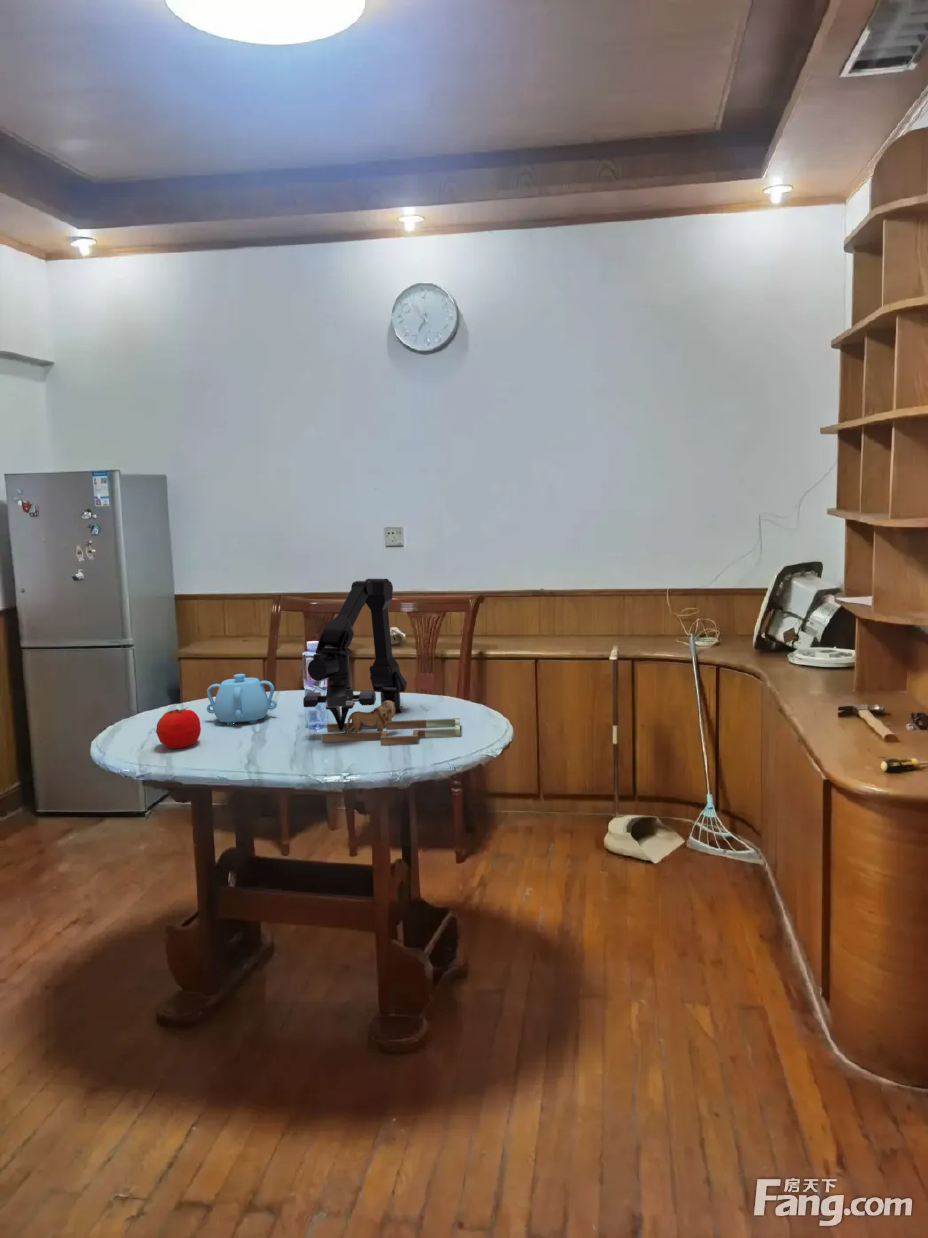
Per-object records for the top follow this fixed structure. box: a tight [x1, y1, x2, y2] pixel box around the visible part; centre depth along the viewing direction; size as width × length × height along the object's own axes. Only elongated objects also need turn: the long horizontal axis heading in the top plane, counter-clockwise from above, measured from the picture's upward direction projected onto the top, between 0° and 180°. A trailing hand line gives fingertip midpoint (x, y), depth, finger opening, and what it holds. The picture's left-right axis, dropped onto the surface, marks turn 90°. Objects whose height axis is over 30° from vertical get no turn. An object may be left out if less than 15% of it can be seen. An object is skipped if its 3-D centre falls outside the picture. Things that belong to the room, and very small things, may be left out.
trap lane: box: [321, 717, 461, 747], centre depth 250 cm, size 22×36×2 cm, turn 91°
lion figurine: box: [343, 701, 396, 733], centre depth 249 cm, size 15×5×9 cm, turn 102°
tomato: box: [155, 706, 202, 749], centre depth 246 cm, size 11×13×10 cm
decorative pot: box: [206, 673, 278, 725], centre depth 271 cm, size 16×16×14 cm
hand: (341, 730), depth 250 cm, fingers closed
